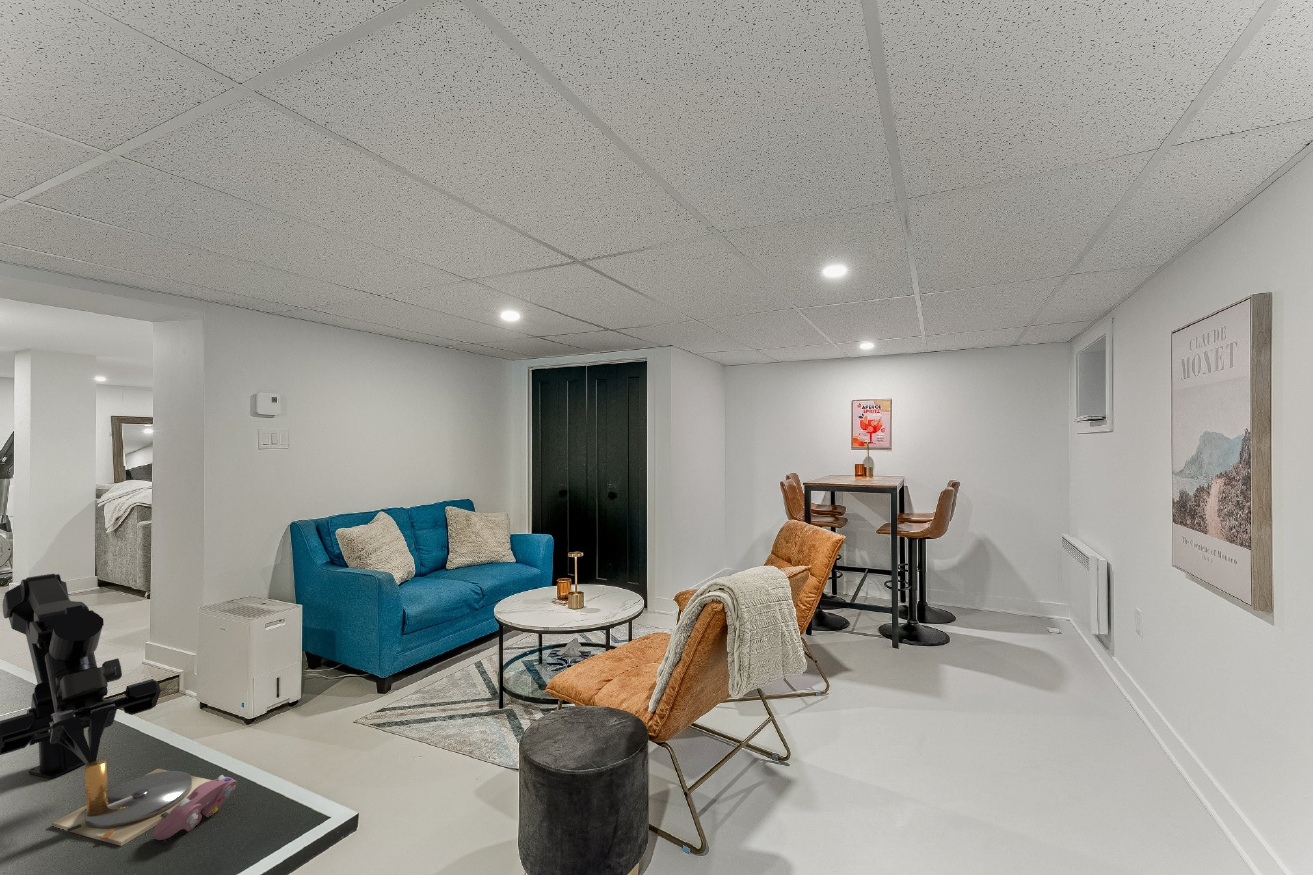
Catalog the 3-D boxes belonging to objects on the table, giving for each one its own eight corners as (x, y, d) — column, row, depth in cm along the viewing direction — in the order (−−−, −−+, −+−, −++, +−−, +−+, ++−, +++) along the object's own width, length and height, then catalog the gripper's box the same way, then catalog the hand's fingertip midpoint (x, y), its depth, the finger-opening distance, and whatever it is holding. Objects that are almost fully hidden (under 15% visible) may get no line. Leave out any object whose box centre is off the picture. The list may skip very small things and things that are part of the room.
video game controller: (171, 856, 86) (187, 815, 85) (146, 838, 86) (163, 797, 86) (232, 811, 95) (247, 774, 95) (210, 796, 96) (225, 759, 95)
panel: (46, 829, 89) (45, 824, 89) (158, 772, 104) (158, 767, 104) (119, 850, 85) (118, 844, 85) (225, 786, 99) (225, 782, 99)
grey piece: (63, 819, 90) (60, 765, 90) (156, 771, 103) (154, 724, 102) (122, 835, 87) (119, 779, 86) (211, 783, 99) (209, 734, 99)
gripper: (-9, 668, 87) (6, 768, 81) (155, 631, 102) (178, 713, 96) (-13, 707, 92) (1, 804, 86) (144, 666, 107) (165, 747, 101)
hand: (92, 764), depth 92 cm, fingers closed
